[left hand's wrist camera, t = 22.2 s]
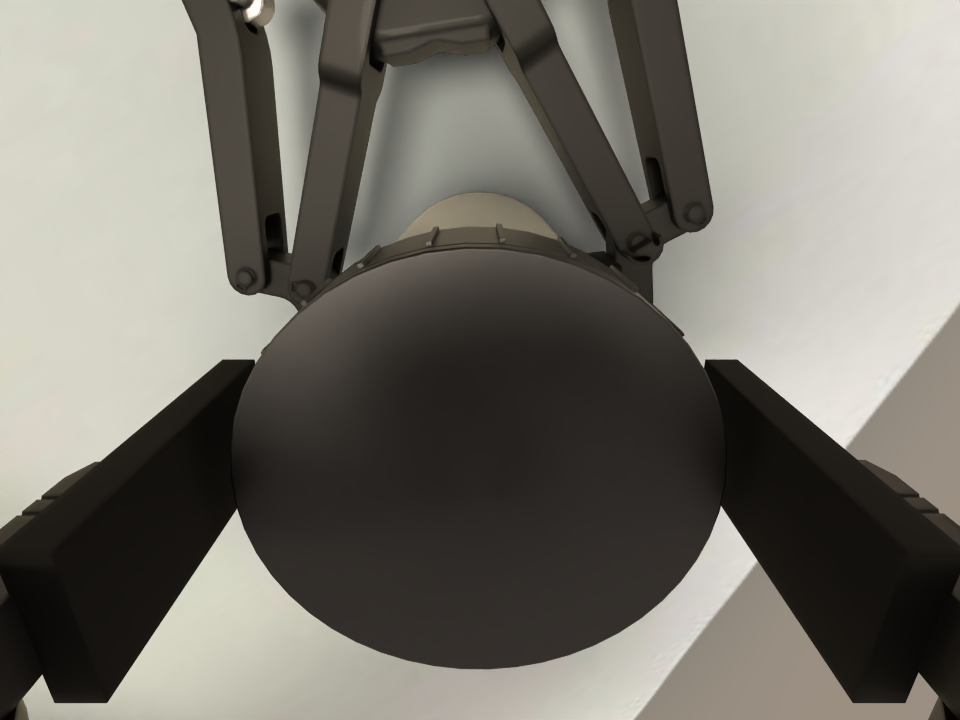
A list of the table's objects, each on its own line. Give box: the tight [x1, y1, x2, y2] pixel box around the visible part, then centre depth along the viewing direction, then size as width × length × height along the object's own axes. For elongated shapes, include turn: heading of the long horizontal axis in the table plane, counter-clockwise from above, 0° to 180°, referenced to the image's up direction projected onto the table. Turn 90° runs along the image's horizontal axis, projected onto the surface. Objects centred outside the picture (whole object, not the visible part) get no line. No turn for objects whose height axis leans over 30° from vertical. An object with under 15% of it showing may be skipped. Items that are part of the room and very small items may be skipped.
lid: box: [230, 223, 727, 669], centre depth 11 cm, size 9×9×2 cm
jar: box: [396, 192, 558, 242], centre depth 18 cm, size 8×8×16 cm
